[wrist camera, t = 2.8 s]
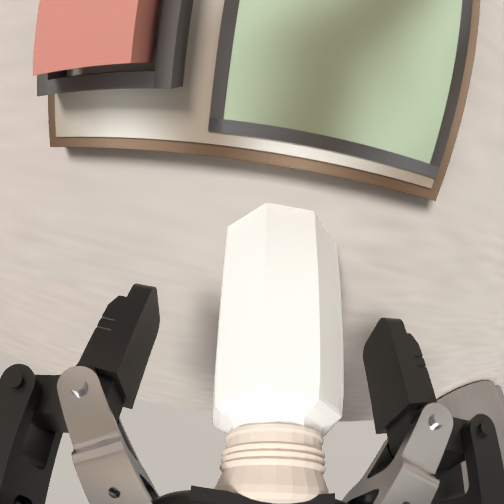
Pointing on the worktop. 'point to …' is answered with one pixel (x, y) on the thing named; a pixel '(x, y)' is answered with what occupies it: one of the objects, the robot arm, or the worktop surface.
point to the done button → (93, 33)
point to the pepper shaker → (278, 354)
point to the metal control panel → (286, 87)
